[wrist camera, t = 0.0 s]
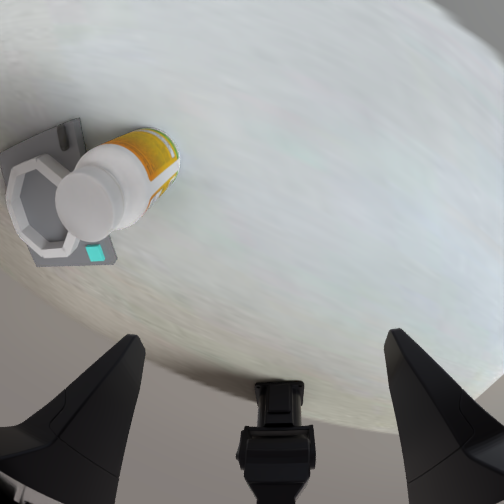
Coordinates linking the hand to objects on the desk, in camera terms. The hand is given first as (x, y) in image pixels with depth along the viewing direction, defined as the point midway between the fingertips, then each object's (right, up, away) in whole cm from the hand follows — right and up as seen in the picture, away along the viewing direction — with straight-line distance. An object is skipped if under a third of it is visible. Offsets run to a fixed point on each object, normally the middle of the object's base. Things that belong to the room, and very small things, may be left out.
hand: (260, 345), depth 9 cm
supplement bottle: (-8, +11, +12) cm, 18 cm away
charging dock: (-20, +8, +14) cm, 26 cm away
